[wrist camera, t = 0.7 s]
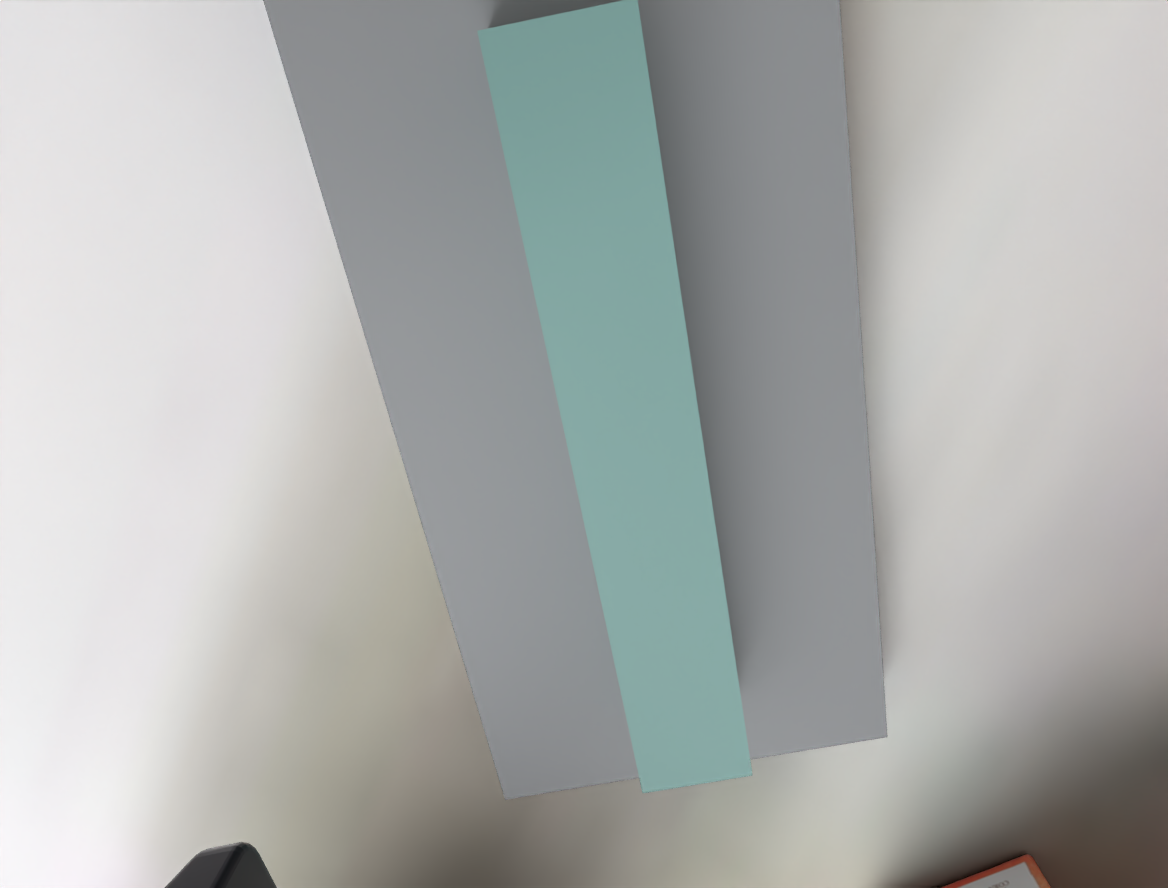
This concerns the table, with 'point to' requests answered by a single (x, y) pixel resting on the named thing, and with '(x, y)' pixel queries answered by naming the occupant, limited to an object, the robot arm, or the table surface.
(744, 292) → the stand
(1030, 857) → the cracker box
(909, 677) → the table surface
